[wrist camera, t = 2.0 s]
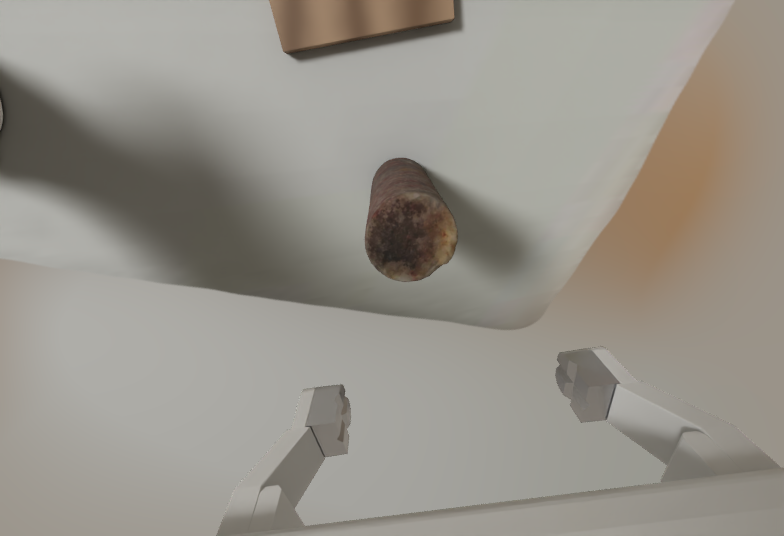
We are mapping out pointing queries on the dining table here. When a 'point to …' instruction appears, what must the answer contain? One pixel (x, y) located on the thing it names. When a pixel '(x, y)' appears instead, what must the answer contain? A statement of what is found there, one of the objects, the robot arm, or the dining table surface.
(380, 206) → the wooden log
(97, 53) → the dining table surface
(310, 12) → the walnut board
